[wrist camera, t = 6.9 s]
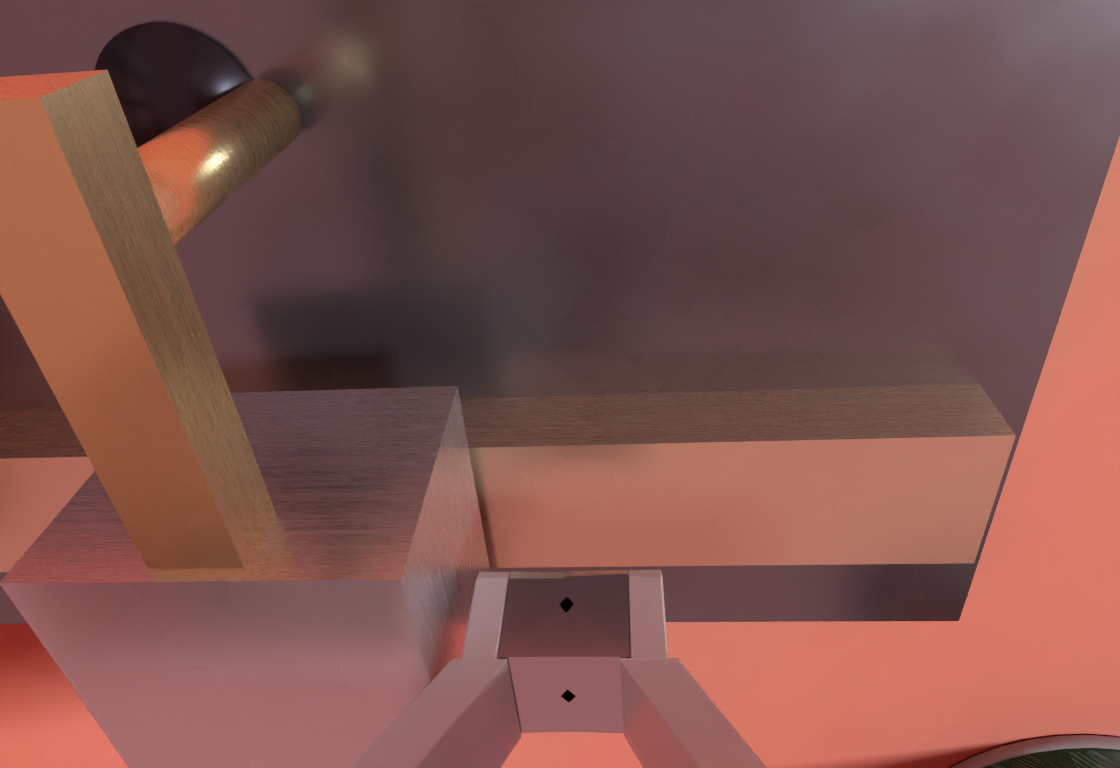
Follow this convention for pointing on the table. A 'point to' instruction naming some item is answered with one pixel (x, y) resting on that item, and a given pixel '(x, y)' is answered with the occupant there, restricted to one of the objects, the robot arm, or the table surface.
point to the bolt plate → (638, 264)
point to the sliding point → (215, 464)
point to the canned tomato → (1051, 753)
